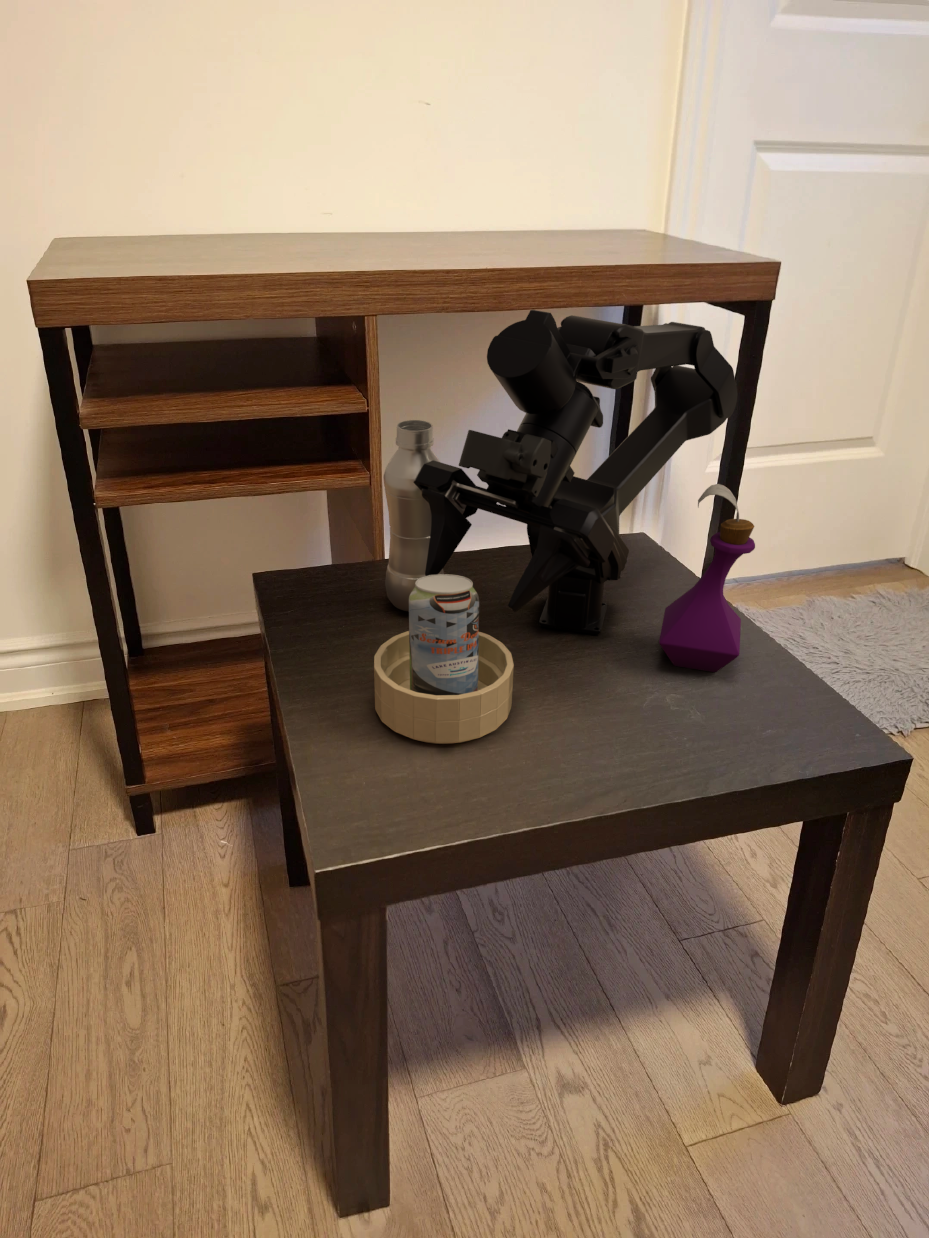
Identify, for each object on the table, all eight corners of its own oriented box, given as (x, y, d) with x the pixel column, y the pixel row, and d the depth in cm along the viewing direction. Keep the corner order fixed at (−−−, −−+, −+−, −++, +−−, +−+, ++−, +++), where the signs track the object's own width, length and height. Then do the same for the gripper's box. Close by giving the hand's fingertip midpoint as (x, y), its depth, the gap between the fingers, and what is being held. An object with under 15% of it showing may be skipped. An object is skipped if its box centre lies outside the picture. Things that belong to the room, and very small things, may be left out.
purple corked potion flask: (735, 646, 96) (767, 479, 87) (733, 684, 89) (768, 508, 81) (661, 635, 97) (685, 470, 89) (654, 671, 91) (679, 498, 82)
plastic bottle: (445, 591, 105) (448, 416, 95) (443, 620, 99) (446, 437, 89) (388, 589, 105) (385, 414, 95) (382, 619, 99) (378, 435, 89)
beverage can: (418, 730, 81) (418, 608, 75) (400, 685, 87) (399, 568, 81) (488, 720, 82) (493, 599, 77) (465, 676, 89) (468, 561, 83)
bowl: (398, 663, 91) (398, 618, 89) (522, 681, 89) (524, 636, 87) (356, 734, 81) (354, 686, 79) (494, 758, 79) (496, 708, 76)
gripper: (427, 372, 83) (343, 525, 81) (611, 414, 73) (522, 590, 71) (478, 437, 92) (405, 576, 90) (647, 482, 82) (570, 640, 80)
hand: (468, 593), depth 82 cm, fingers open, 9 cm apart
